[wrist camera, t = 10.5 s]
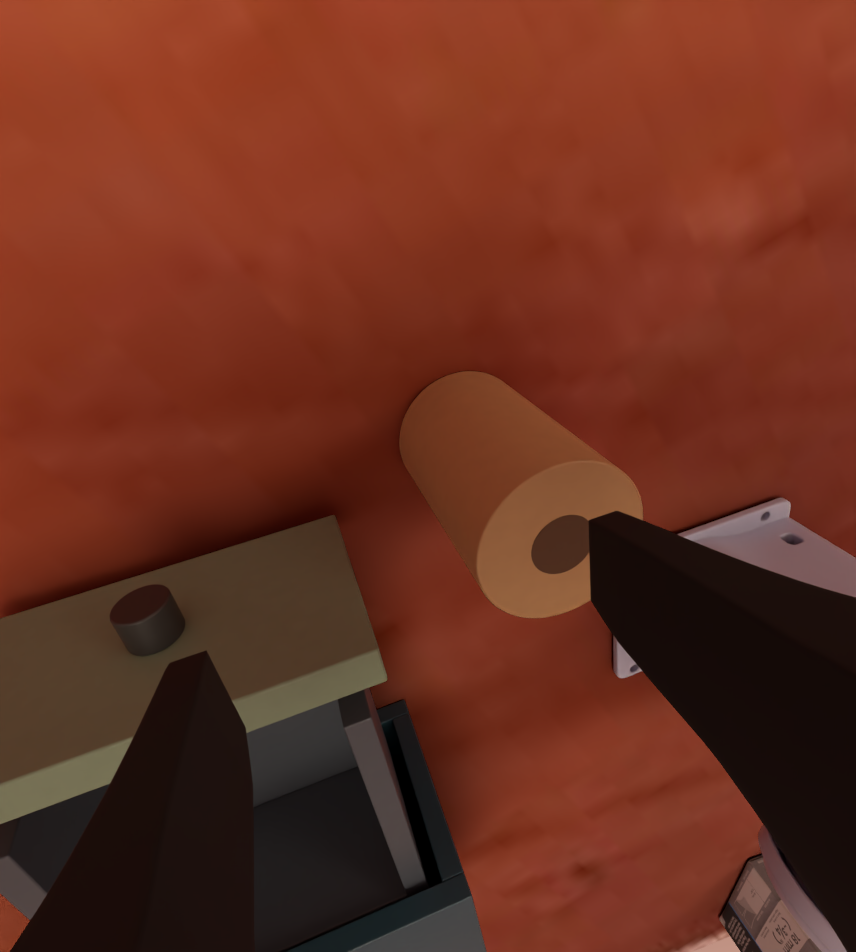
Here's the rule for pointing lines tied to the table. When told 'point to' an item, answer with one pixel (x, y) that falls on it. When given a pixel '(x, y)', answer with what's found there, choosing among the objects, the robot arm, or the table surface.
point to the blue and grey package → (762, 915)
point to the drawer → (255, 698)
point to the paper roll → (511, 491)
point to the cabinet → (448, 897)
